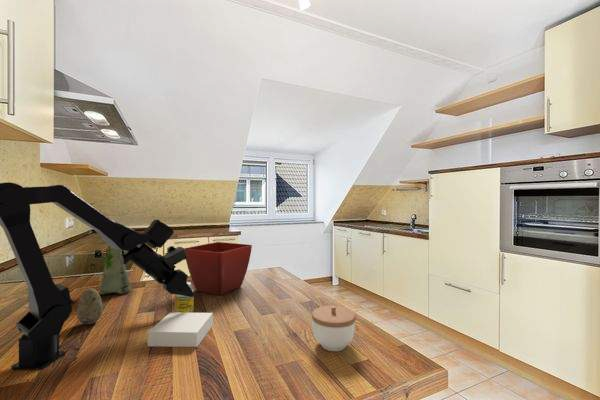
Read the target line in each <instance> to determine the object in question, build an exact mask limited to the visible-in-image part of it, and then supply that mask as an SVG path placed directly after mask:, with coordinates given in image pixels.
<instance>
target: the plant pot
mask: <svg viewBox="0 0 600 400" xmlns="http://www.w3.org/2000/svg"><path fill="white" fill-rule="evenodd" d="M252 247H253V245H252V244H245V243H235V242H225V241H224V242H223V241H216V242H211V243H205V244H200V245H199V244H198V245H194V246H189V247H185V248H184V247H183V248H184V249H185V251H186V253H187V255H188V258H187V259H185V261H186V266H187V270H188V273H189V276H190V278H191V281H192V283H193V286H194V289H195V290H196V291H198V292H202V293H206V294H207V293H208V294H211V295H217V296H221V295H224V294H226V293H229V292H231V291H233V290H236V289H238V288H241V287H242V285H243V283H244V280H245V277H246V274H247V271H248V268H249V264H250V260H251V254H252V253H251V252H252Z"/></svg>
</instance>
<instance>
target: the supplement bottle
mask: <svg viewBox="0 0 600 400" xmlns="http://www.w3.org/2000/svg"><path fill="white" fill-rule="evenodd" d="M187 284H188V285H189V287H190V288H191V290H192V291H193V292H194V290H193V289H192V283H191V282H190V281H187ZM194 296H195V295H194ZM194 296H193V297H188V296H183V295H177V294H174V312H184V313H195V312H194V310H195V309H194V307H195V305H194V303H195V302H194V300H195V299H194V298H195V297H194Z"/></svg>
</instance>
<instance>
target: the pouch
mask: <svg viewBox="0 0 600 400" xmlns="http://www.w3.org/2000/svg"><path fill="white" fill-rule="evenodd" d="M107 245H108V244H107ZM107 247H108V248H107V249H106V252H105V254H106V257H105V259H104V261H105V262H104V263H105V264H104V267H103V270H102V271H103V272H102V278H101V280H100V281H101V282H100V287H99V291H98V293H99V295H106V294H107V295H108V294H121V295H122V294H126V293H129V292H130V291H131V289H132V287H131V283H130V280H129V276H128V272H127V269H126V264H120V256H119V255H120V254H123V253H122V251H123V250H119V249H114V248H112V247H110V246H109V245H108V246H107Z"/></svg>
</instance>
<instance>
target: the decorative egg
mask: <svg viewBox="0 0 600 400" xmlns="http://www.w3.org/2000/svg"><path fill="white" fill-rule="evenodd" d="M103 310H104V306H103V301H102V297H101V296H100V295H99V291H97V290H96V289H95V288H92V287H90V288H87V289H86V290H85V291H84V292H83V293H82V295H81V296H80V298H79V302H78V304H77V309H76V317H77V320H78V321H79V323H81V324H84V325H92V324H94V323H96V322H97V321H99V319H100V318H101V317H102V314H103V312H104V311H103Z"/></svg>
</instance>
